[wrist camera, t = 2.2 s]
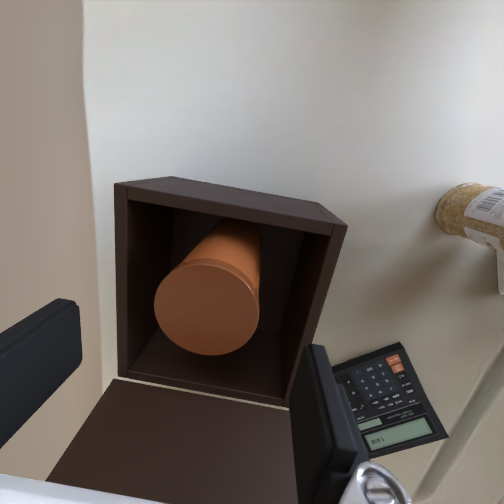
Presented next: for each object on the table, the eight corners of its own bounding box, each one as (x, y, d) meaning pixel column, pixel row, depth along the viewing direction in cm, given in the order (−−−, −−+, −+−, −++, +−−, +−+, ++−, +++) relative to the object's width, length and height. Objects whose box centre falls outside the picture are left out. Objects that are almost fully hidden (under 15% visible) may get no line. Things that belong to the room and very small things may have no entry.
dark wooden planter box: (170, 176, 22) (113, 182, 14) (319, 202, 22) (348, 225, 14) (163, 312, 27) (117, 376, 19) (284, 334, 27) (291, 409, 19)
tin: (211, 209, 22) (155, 254, 11) (268, 220, 22) (268, 275, 11) (205, 262, 24) (151, 346, 13) (258, 272, 24) (249, 364, 13)
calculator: (399, 341, 27) (415, 363, 24) (433, 413, 30) (450, 439, 27) (318, 372, 29) (324, 394, 26) (357, 436, 32) (366, 462, 29)
